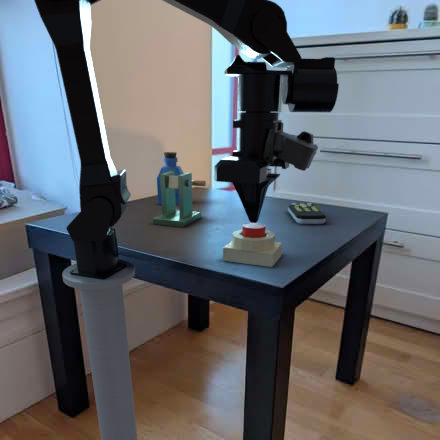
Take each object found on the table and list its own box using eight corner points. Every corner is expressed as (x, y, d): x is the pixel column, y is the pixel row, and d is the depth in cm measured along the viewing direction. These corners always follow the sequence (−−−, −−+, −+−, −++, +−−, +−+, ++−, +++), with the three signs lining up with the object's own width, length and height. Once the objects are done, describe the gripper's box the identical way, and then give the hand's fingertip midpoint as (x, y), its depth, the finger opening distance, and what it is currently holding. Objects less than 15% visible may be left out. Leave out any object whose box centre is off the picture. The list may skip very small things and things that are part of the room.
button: (261, 240, 63) (262, 229, 63) (239, 238, 65) (239, 227, 64) (267, 234, 66) (268, 224, 66) (246, 232, 68) (246, 221, 67)
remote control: (297, 225, 86) (297, 215, 85) (286, 211, 98) (287, 202, 97) (327, 224, 86) (328, 215, 85) (313, 211, 98) (313, 202, 97)
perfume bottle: (158, 204, 104) (155, 153, 99) (162, 199, 110) (159, 151, 105) (182, 204, 104) (181, 154, 99) (185, 199, 110) (184, 151, 105)
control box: (271, 268, 63) (273, 242, 61) (222, 261, 65) (222, 236, 64) (281, 255, 68) (283, 231, 67) (235, 249, 71) (236, 226, 69)
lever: (181, 187, 95) (181, 176, 94) (205, 189, 93) (206, 178, 92) (160, 187, 86) (160, 175, 85) (186, 189, 84) (187, 177, 83)
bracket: (172, 214, 94) (170, 169, 90) (201, 217, 92) (200, 171, 88) (153, 224, 86) (150, 175, 82) (183, 227, 84) (182, 177, 80)
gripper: (303, 113, 48) (292, 244, 54) (326, 112, 64) (316, 213, 70) (212, 112, 51) (212, 235, 58) (255, 111, 67) (252, 208, 74)
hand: (253, 222), depth 65 cm, fingers closed
